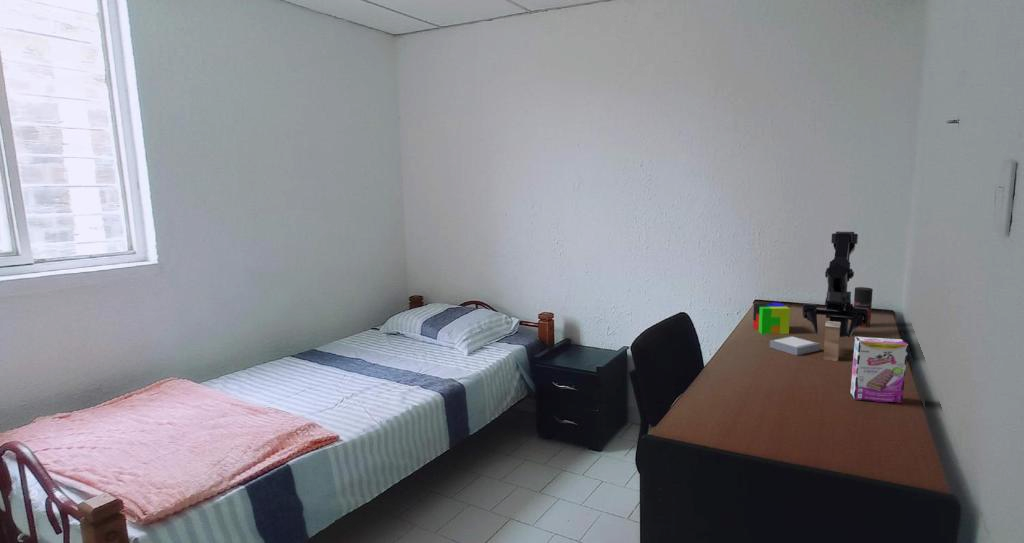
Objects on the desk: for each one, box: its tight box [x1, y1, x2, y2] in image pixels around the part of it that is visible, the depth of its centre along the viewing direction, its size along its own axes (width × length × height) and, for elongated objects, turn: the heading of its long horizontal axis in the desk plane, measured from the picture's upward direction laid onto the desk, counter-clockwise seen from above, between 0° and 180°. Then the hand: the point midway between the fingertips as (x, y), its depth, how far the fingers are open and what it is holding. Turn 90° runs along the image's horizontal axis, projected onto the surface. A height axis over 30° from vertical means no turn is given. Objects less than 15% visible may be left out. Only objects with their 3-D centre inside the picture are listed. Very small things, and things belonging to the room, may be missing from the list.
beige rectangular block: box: [823, 320, 841, 362], centre depth 179 cm, size 4×4×12 cm
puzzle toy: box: [752, 302, 791, 335], centre depth 215 cm, size 10×10×10 cm
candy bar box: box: [850, 336, 909, 403], centre depth 145 cm, size 11×5×16 cm, turn 71°
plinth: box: [769, 335, 821, 356], centre depth 191 cm, size 11×11×3 cm
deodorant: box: [853, 286, 874, 329], centre depth 217 cm, size 6×6×15 cm
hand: (832, 335), depth 179 cm, fingers open, 9 cm apart
